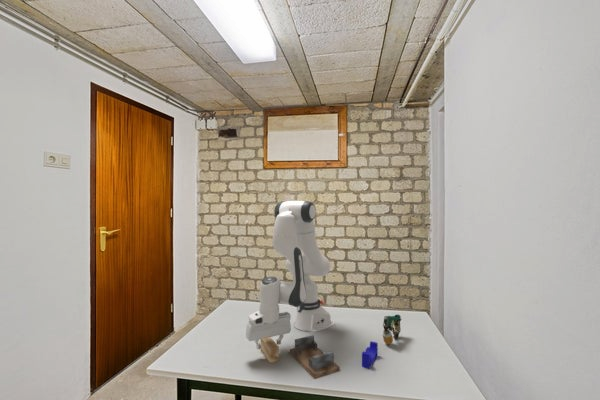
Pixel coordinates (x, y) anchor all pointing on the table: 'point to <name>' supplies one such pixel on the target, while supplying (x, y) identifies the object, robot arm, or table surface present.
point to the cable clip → (370, 355)
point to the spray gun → (391, 328)
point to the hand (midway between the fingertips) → (268, 346)
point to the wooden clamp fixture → (313, 357)
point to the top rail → (270, 349)
